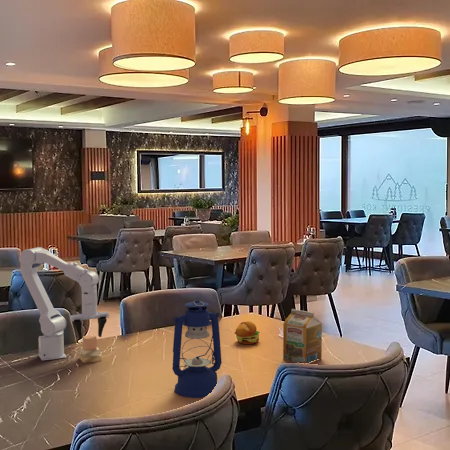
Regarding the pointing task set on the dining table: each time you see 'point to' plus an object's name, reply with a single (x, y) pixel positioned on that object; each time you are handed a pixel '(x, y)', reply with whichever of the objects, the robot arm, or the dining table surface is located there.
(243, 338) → the cheeseburger
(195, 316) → the lantern
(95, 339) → the cube
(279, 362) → the dining table surface
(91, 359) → the bottom block
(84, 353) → the top block
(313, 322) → the milk carton
